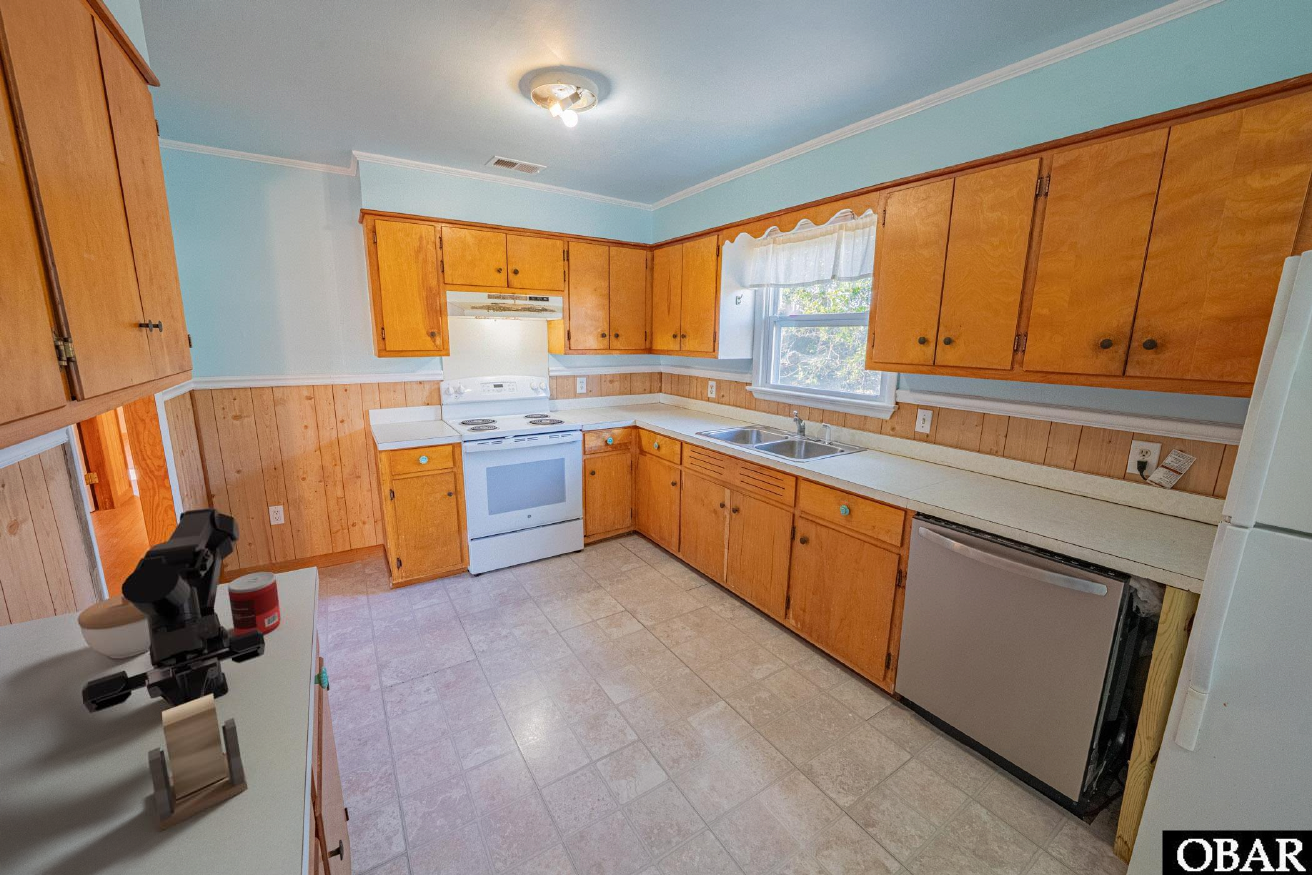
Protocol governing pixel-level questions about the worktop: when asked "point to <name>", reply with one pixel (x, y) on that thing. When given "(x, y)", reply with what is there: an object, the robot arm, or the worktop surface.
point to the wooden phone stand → (204, 797)
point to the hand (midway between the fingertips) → (191, 726)
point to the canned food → (254, 603)
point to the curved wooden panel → (194, 745)
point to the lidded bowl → (115, 628)
